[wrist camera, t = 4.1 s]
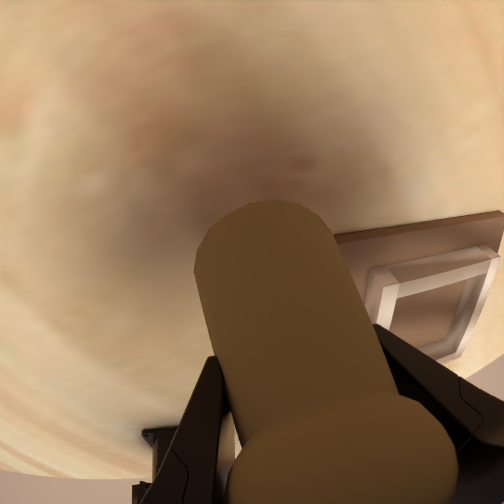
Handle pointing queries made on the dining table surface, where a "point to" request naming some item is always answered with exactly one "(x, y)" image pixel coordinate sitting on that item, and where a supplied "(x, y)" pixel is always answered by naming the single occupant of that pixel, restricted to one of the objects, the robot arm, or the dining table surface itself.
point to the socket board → (427, 278)
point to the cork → (310, 371)
